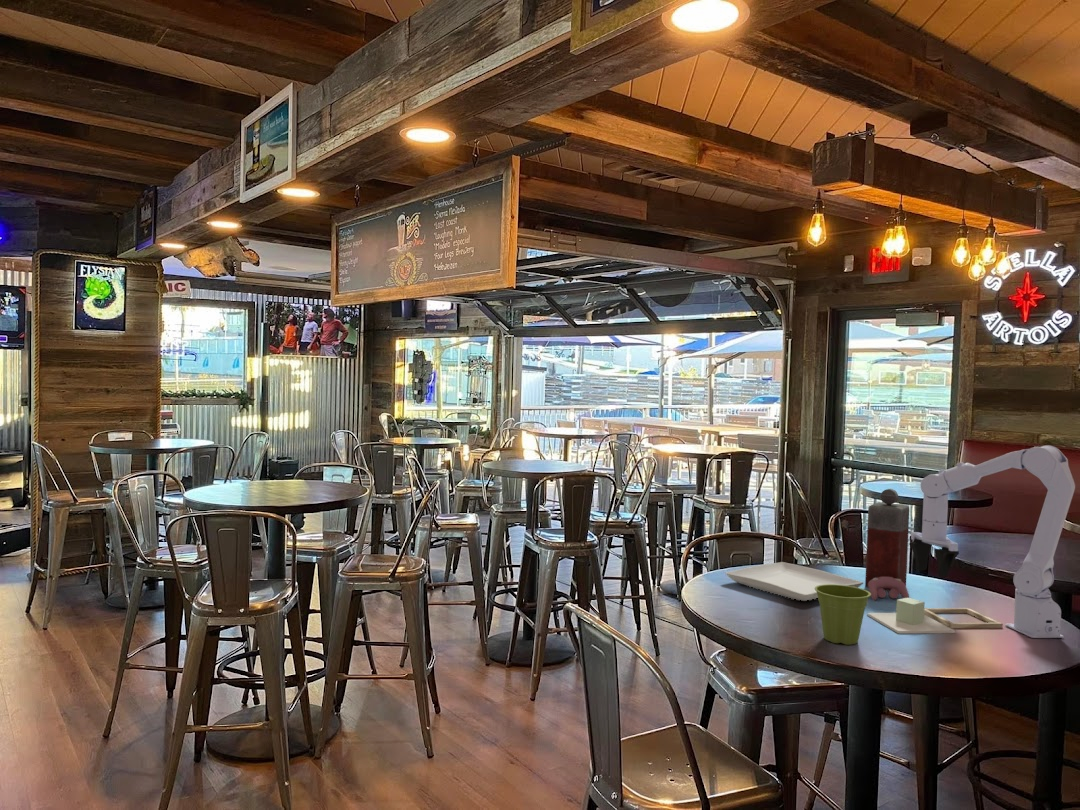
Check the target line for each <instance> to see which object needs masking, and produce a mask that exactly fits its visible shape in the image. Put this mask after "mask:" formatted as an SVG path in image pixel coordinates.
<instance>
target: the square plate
mask: <svg viewBox="0 0 1080 810" xmlns="http://www.w3.org/2000/svg"><path fill="white" fill-rule="evenodd" d="M725 575H727V577H728V578H729V579H731V580H732V581H734V582H736V583H738V584H741V585H744V586H746V587H748V586H749V588H751V587H753V588H752V589H754V588H756V589H755V590H758V589H760V590H759V591H761V590H763V591H762V592H765V591H767V592H766V593H768V592H770V593H769V594H772V593H774V594H773V595H775V594H778V595H777V596H779V595H781V596H780V597H782V596H785V597H784V598H786V597H788V598H787V599H789V598H791V599H790V600H794V599H796V600H795V601H800V600H801V601H802V602H807V600H809V601H813V600H812V599H814V600H817V599H816V598H818V595H817V591H815V587H816V586H819V585H829V584H834V585H845V586H852V587H856V588H860V587H861V586H862V585H863V584H864V582H863V581H861V580H858V579H857V580H856V579H853V578H849V577H845V576H841V575H839V574H835V573H832V572H828V571H825V570H821V569H817V568H812V567H808V566H803V565H800V564H799V565H797V564H793V563H788V562H784V561H780V562H779V561H778V562H773V563H764V564H759V565H754V566H749V567H744V568H739V569H734V570H731V571H726V572H725ZM801 601H800V602H801Z"/></svg>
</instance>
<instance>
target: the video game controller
mask: <svg viewBox="0 0 1080 810" xmlns="http://www.w3.org/2000/svg"><path fill="white" fill-rule="evenodd" d="M867 588H868V589H869V590H868V592H870V593H871V596H870V597H871V599H872V600H873V601H874V602H875V601H877V599H878V598H879V599H883V598H885V597H886V596H887V592H886V590H884V589H883V588H890V589H891V590H890V591H888V597H889V598H890V599H892V600H894V599H897V598H898V596H899V594H900V595H901V597H902V599H903V598H910V594H909V591H908V589H907V585H906V586H905V584H904V583H903V582H902V581H901V580H900V579H896V578H892V577H877V578H873V579H872V580H870V581H869V582H868V587H867Z"/></svg>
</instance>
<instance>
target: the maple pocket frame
mask: <svg viewBox="0 0 1080 810" xmlns="http://www.w3.org/2000/svg"><path fill="white" fill-rule="evenodd" d="M938 614H968V615H970V616H972V617H974V616H975V618H977V619H978V620H981V621H982V622H952V621H950V620H948V618H945V617H943V616H942V615H938ZM924 615H926V616H928V617H930V618H932V619H934V620H935V621H937V622H939V623H941V624H943V625H945V626H947V627H949V628H951V629H995V628H996V629H1003V626H1004V625H1003V623H1002V622H1000V621H998V620H995V619H993V618H992V617H989V616H986V615H985V614H982V613H980V612H978V611H976V610H973V609H971V608H969V607H924ZM983 621H984V622H983ZM987 622H988V623H987Z"/></svg>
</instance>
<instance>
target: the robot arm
mask: <svg viewBox="0 0 1080 810" xmlns="http://www.w3.org/2000/svg"><path fill="white" fill-rule="evenodd" d="M955 465H956V466H954V467H951V468H948V469H946V470H945V469H939V470H937V471H938V473H935V474H934V473H931V474H928V475H926V476H925V477H923V478H922V479H921V482H920V485H919V487H920V491H921V492H922V493H923V502H922V518H921V520H922V522H921V523H922V524H921V532H919V531H912V532H910V533H911V535H910V539H911V540H912V541H909V542H908V544H909V545H908V546H910V547H911V550H912V552H913V555H914V558H915V562H916V566H917V570H919V571H922V570H924V571H925V570H927V568H928V562H929V561H928V560H929V554H930V550H931V548H932V546H936V547H938V548H934V552H935V555H936V560H937V571H938V577H939V578H948V576H949V573H950V572H951V571H950V570H951V567H952V565H953V563H954V561H955V559H956V558H957V557H958V556H959V554H960V551H959V543H957V542H955V541H953V540H951V539H950V538H949V537H947V536H948V535H947V532H948V511H949V509H948V508H949V495H950V493H955V492H957V491H960V490H963V489H967V488H971V487H972V486H976V485H978V484H979V483H980V481H981V479H982V477H987V476H989V475H993V474H996V473H998V472H1002V471H1006V470H1008V469H1018V470H1025V469H1026V470H1027V471H1028V472H1029V473H1030V474H1032V475H1034V476H1035V477H1037V478H1038V479H1039V480H1040V481H1041V483H1042V484H1043V485H1044V487H1045V488H1046V489H1047V492H1046V496H1045V498H1044V502H1043V505H1042V508H1041V512H1040V515H1039V518H1038V522H1037V525H1036V528H1035V531H1034V534H1033V537H1032V541H1031V544H1030V547H1029V551H1028V553H1027V555H1026V556H1025V558H1024V560H1023V562H1022V564H1021V566H1020V568H1019V569H1017V571H1016V572H1015V573H1014V574H1013V578H1012V579H1013V584H1014V587H1015V593H1014V595H1015V596H1014V610H1013V611H1014V613H1013V623H1005V624H1004V625H1005V627H1007V628H1009V629H1012V630H1014V631H1016V632H1019V633H1020V634H1023V635H1025V636H1027V637H1030V638H1032V639H1052V638H1055V639H1057V638H1058V639H1060V638H1061V639H1062V638H1064V635H1063V634H1061V625H1062V623H1061V622H1062V609H1061V607H1060V605H1059V604H1058V603H1057V602H1055V601H1054V600H1053V598H1052V593H1051V590H1050V589H1049V588H1050V587H1051V586H1053V584H1054V581H1055V575H1054V569H1053V568H1054V565H1055V561H1054V556H1055V553H1056V550H1057V547H1058V544H1059V540H1060V537H1061V534H1062V531H1063V528H1064V525H1065V521H1066V520H1067V519H1066V518H1067V515H1068V513H1069V509H1070V506H1071V503H1072V500H1073V496H1074V493H1075V490H1076V482H1075V480H1074V478H1073V475H1072V473H1071V469H1070V466H1069V459H1068V458H1067V457H1066V456H1065V454H1064V453H1063V452H1062V451H1061V450H1060V449H1059V448H1058V447H1056V446H1053V445H1042V446H1034V447H1030V448H1026V449H1021V450H1015V451H1011V452H1007V453H1005V454H1002V455H999V456H997V457H995V458H991V459H988V460H987V461H984V462H982V463H979V464H976V465H975V464H973V463H970V462H965V463H964V462H963V461H961V462H957V463H956V464H955Z"/></svg>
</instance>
